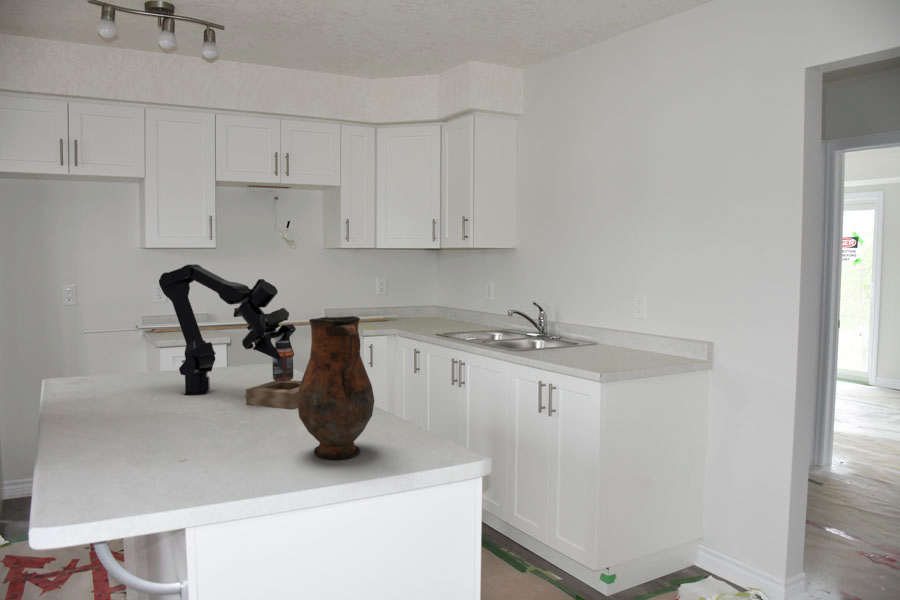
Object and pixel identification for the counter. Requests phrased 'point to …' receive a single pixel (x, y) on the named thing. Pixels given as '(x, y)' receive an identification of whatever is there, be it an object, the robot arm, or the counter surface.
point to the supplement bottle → (283, 362)
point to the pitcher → (335, 388)
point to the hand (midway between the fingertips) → (286, 357)
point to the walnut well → (274, 394)
